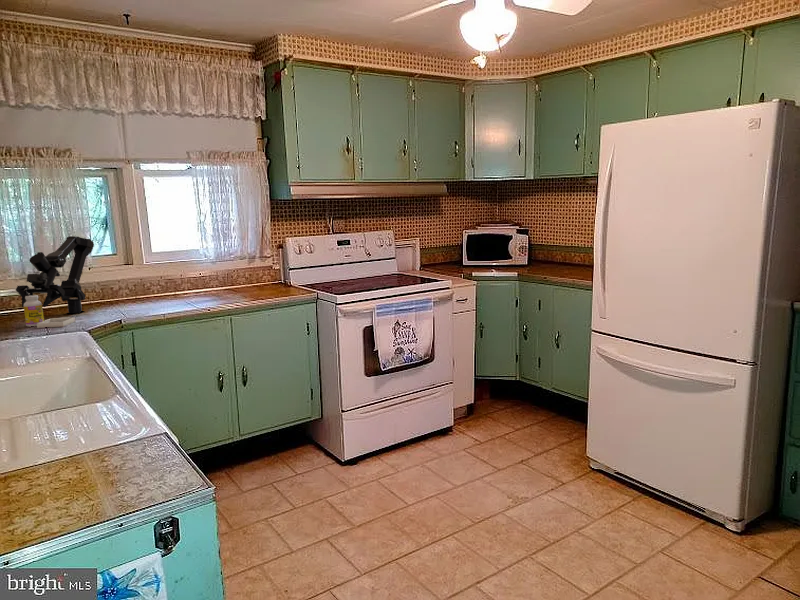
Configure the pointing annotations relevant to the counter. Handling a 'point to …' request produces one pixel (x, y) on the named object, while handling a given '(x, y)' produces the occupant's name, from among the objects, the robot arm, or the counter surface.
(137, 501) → the counter surface
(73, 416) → the counter surface
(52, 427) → the counter surface
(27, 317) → the supplement bottle
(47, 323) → the pocket tray
